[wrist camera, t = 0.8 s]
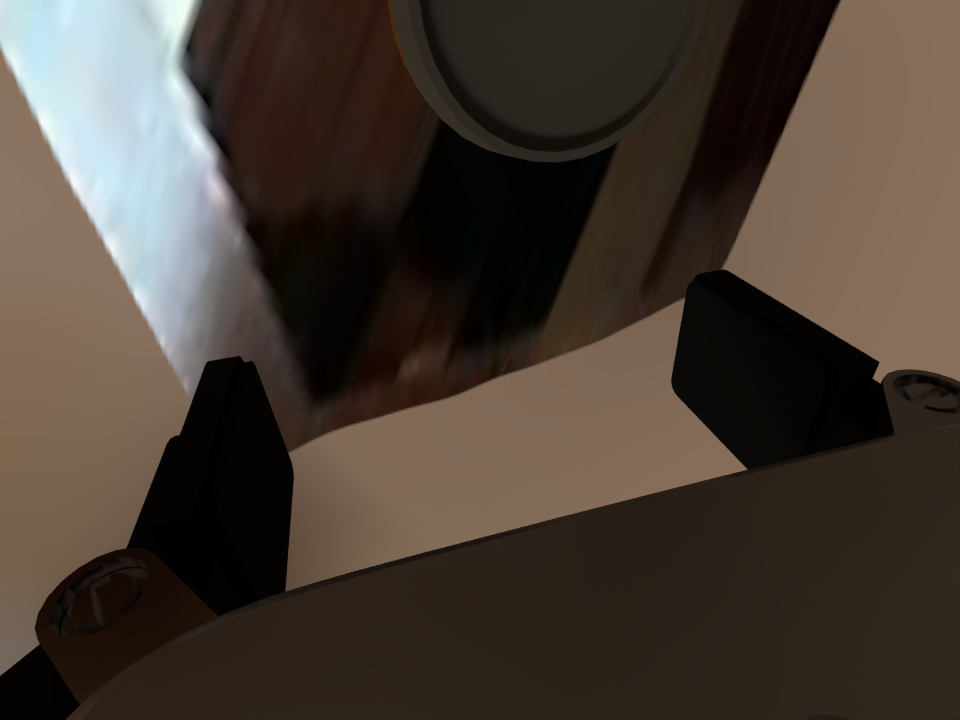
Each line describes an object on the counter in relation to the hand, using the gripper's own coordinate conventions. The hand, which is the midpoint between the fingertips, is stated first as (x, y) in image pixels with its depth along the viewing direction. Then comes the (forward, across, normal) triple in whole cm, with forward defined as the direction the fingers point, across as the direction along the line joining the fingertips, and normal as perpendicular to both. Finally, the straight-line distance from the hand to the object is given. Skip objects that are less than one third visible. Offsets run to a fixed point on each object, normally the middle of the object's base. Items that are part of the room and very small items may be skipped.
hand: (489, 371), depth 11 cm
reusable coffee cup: (+28, -7, -7) cm, 30 cm away
